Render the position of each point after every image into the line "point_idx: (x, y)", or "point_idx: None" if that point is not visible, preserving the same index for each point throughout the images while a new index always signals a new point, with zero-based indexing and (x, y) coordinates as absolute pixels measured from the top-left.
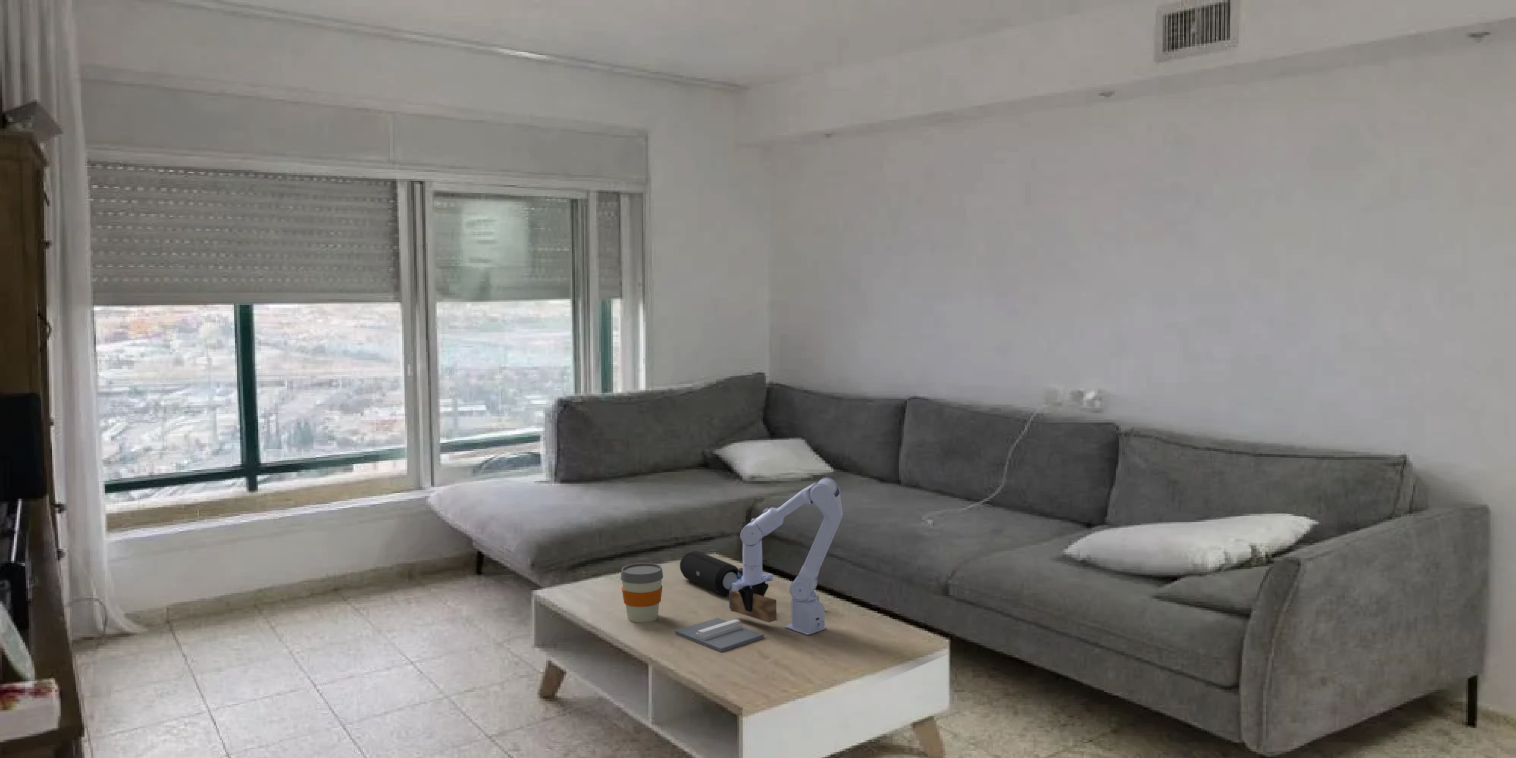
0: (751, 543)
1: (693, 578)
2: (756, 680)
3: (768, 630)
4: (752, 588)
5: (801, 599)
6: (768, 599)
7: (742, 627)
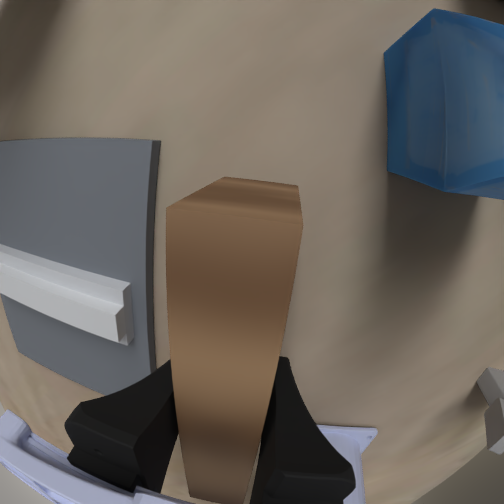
0: None
1: None
2: (42, 430)
3: None
4: (274, 444)
5: None
6: (219, 493)
7: (141, 333)
